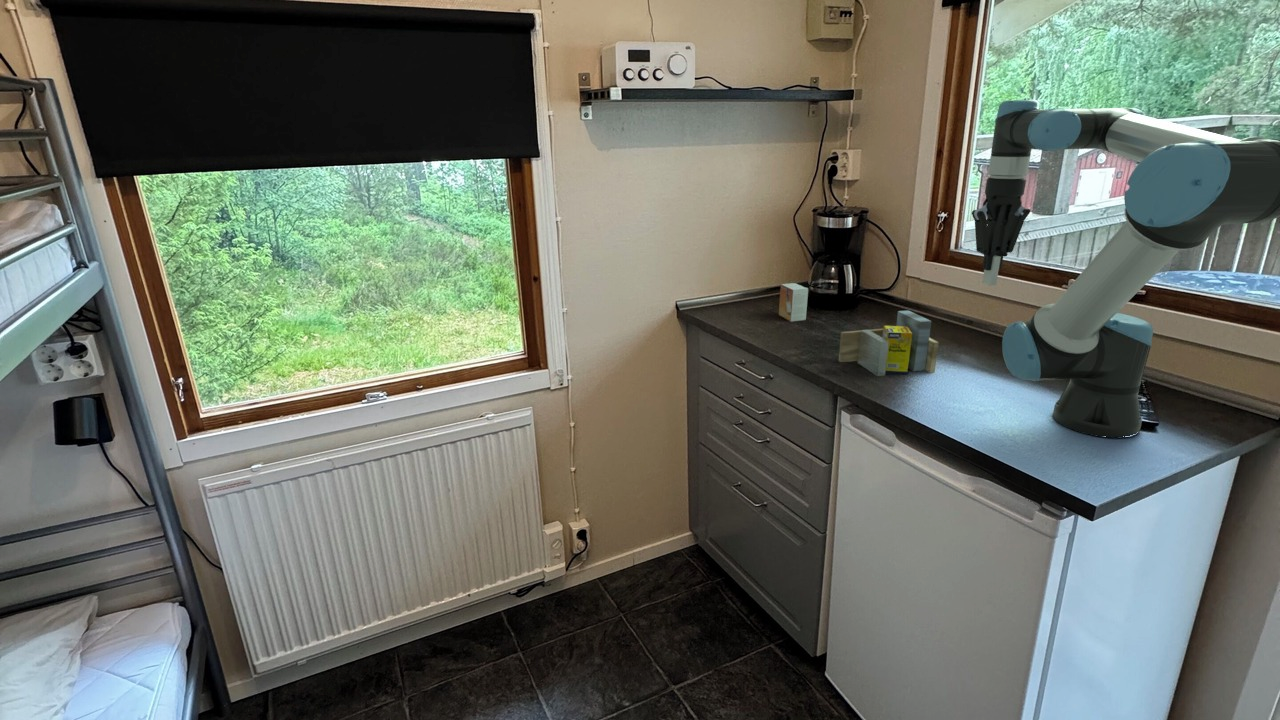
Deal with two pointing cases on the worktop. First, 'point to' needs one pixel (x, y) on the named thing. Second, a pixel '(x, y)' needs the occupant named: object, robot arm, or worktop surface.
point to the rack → (920, 350)
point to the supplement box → (897, 348)
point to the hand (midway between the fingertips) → (989, 283)
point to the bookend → (873, 352)
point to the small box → (793, 302)
